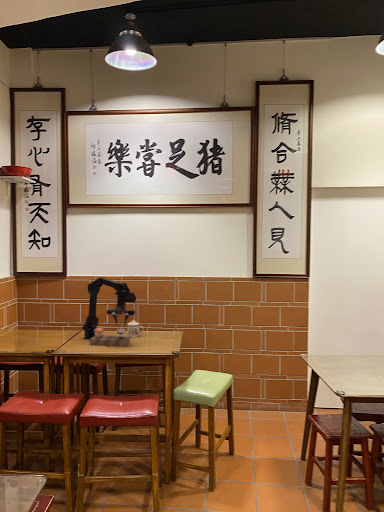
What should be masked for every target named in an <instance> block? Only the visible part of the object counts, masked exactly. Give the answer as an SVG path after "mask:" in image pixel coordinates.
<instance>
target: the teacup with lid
mask: <svg viewBox="0 0 384 512" xmlns="http://www.w3.org/2000/svg"><path fill="white" fill-rule="evenodd" d="M126 325H127V327H126V329H127V330H126V332H127V333H126V334H127V335H126V336H130V338H138V337H139V336H140V334H142V333H143V332H144V326H142V325H141V324H140V322H137V321H136V320H135V319H133V320H131V321H130V322H127V323H126ZM140 328H142V329H141V331H140ZM137 336H138V337H137Z"/></svg>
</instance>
